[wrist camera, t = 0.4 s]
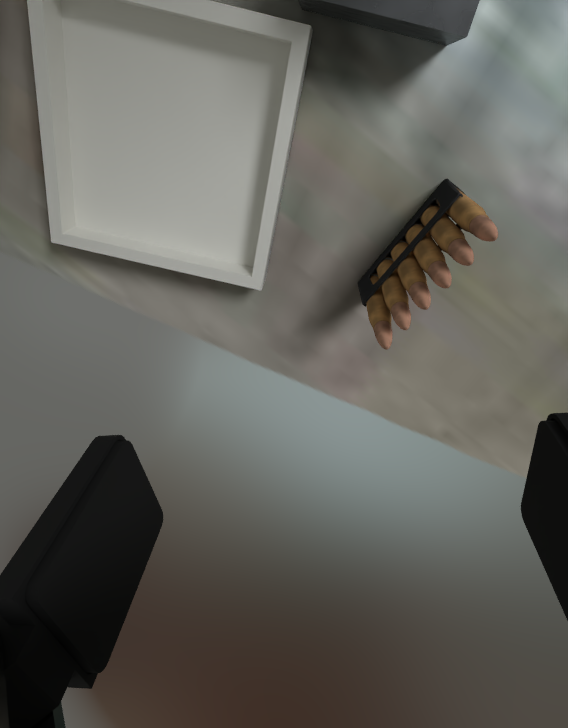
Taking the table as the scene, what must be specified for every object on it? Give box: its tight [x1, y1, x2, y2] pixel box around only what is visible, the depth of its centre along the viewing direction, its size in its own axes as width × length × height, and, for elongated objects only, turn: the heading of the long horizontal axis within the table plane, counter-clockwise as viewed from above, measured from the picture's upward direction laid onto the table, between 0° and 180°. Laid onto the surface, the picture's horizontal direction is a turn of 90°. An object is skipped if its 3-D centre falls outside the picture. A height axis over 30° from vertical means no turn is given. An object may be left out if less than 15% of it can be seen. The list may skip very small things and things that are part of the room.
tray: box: [27, 0, 313, 290], centre depth 32 cm, size 18×18×3 cm
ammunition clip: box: [358, 179, 498, 350], centre depth 30 cm, size 11×2×12 cm, turn 146°
